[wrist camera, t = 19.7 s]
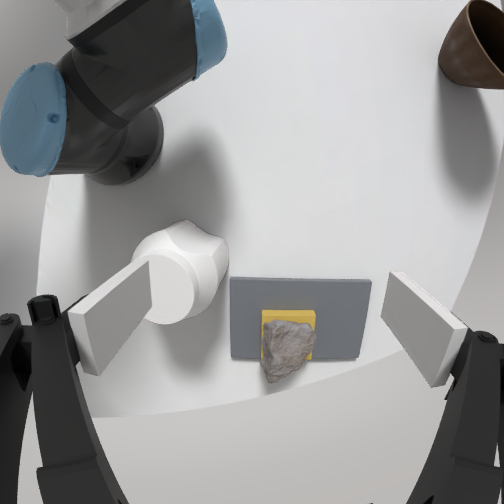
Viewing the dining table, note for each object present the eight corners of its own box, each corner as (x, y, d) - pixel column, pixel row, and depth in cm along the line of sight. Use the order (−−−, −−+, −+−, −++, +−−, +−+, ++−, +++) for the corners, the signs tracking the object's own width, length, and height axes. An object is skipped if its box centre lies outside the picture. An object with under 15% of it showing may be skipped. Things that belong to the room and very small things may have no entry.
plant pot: (475, 120, 36) (534, 109, 20) (412, 73, 35) (463, 38, 20) (485, 65, 32) (534, 44, 17) (427, 20, 32) (468, -18, 16)
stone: (297, 370, 45) (300, 393, 39) (250, 359, 45) (247, 381, 39) (319, 320, 42) (325, 339, 37) (268, 307, 42) (267, 325, 37)
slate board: (231, 353, 48) (231, 357, 47) (230, 276, 45) (229, 279, 44) (356, 353, 47) (358, 357, 46) (369, 279, 44) (371, 281, 43)
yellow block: (262, 309, 45) (261, 352, 46) (261, 315, 42) (261, 359, 44) (313, 309, 44) (309, 352, 46) (315, 315, 42) (311, 359, 44)
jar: (239, 247, 44) (224, 279, 29) (211, 299, 46) (187, 348, 31) (173, 211, 43) (128, 226, 29) (149, 264, 45) (103, 298, 31)
